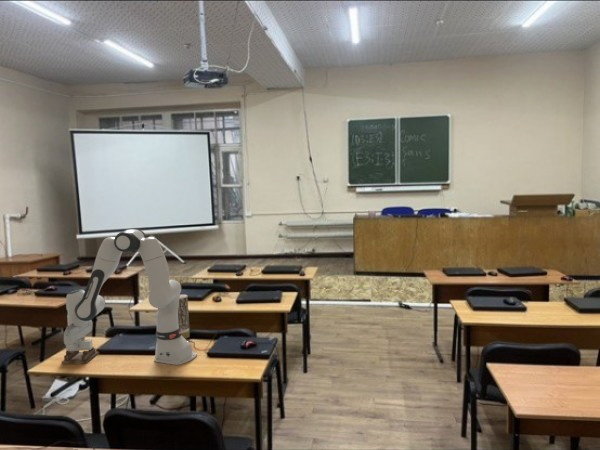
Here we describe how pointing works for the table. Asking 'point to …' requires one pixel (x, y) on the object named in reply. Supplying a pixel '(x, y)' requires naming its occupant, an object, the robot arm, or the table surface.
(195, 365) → the table surface
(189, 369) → the table surface
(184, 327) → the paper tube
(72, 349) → the grey strip
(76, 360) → the drying rack
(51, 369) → the table surface
